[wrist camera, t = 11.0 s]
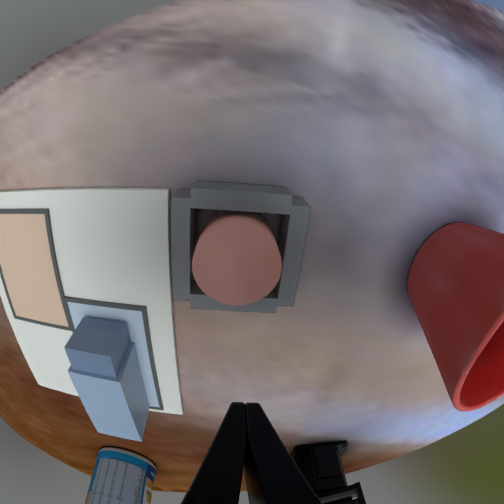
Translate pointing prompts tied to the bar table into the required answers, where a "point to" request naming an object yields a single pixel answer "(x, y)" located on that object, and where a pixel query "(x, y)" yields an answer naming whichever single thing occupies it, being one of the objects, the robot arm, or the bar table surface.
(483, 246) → the flower pot
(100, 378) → the blue paint stick
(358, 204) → the bar table surface
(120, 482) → the beverage bottle
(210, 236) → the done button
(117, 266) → the white sorting board
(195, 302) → the button housing
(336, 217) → the bar table surface
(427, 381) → the bar table surface
